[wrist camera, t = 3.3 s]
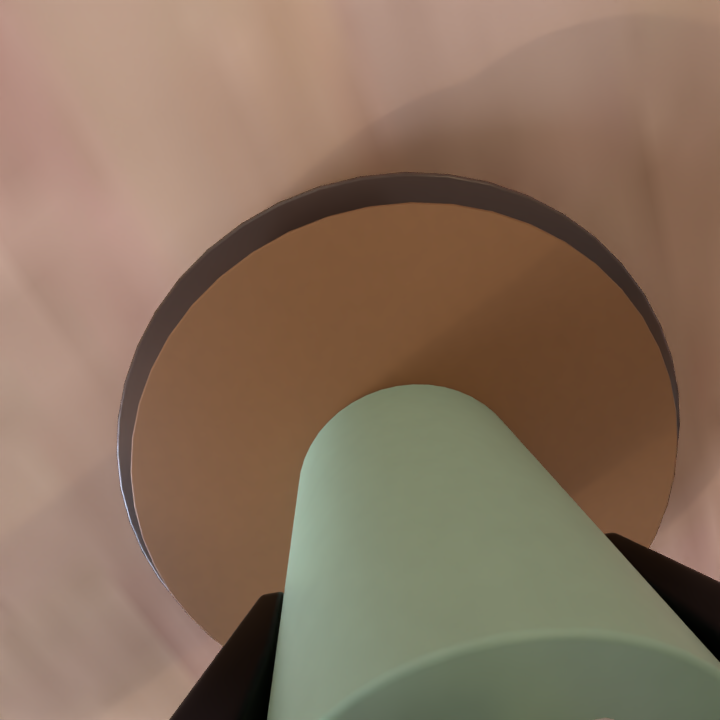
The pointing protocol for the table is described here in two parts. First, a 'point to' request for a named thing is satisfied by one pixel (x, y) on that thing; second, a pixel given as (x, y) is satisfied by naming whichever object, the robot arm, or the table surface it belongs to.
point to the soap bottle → (423, 474)
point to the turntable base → (331, 203)
